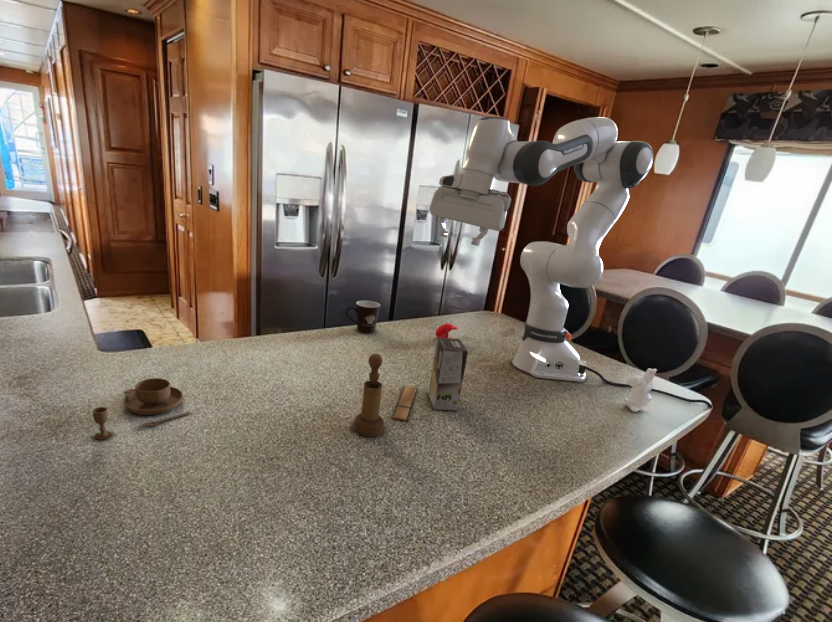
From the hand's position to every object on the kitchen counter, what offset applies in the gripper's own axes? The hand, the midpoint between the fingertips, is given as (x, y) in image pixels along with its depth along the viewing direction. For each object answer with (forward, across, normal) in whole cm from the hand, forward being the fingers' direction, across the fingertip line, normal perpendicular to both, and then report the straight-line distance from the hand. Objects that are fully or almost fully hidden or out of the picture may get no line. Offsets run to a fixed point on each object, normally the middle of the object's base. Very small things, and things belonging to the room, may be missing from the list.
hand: (458, 240), depth 118 cm
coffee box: (+40, -12, +6) cm, 42 cm away
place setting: (+52, +34, +61) cm, 87 cm away
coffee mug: (+39, +37, -21) cm, 58 cm away
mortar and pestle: (+44, -6, +30) cm, 54 cm away
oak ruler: (+41, -5, +14) cm, 44 cm away
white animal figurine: (+32, -52, -30) cm, 68 cm away
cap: (+35, +12, -37) cm, 52 cm away
